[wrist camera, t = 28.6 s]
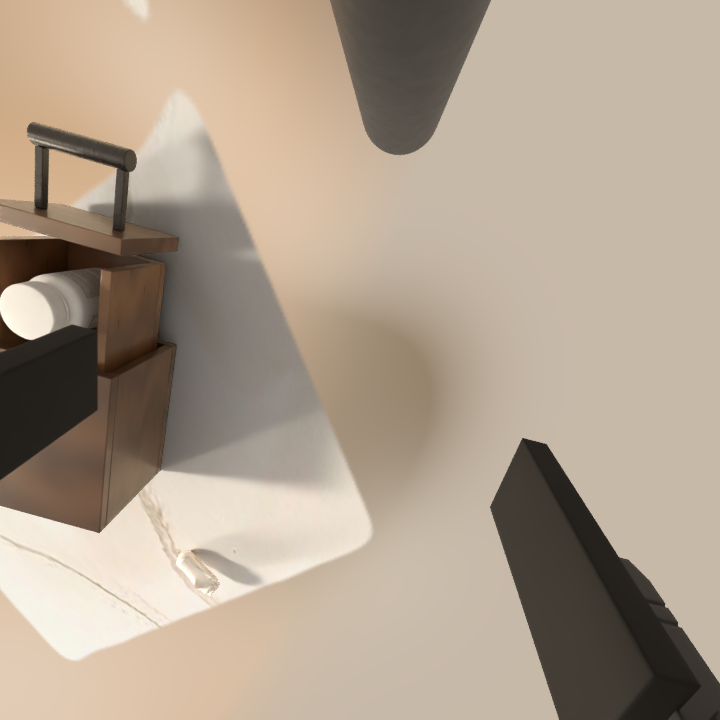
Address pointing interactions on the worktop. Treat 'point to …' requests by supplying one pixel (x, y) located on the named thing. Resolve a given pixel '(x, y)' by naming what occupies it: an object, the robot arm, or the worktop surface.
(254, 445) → the worktop surface
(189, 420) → the worktop surface
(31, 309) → the pill bottle
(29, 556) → the worktop surface
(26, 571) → the worktop surface
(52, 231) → the drawer
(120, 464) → the cabinet
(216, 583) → the small white plastic part
